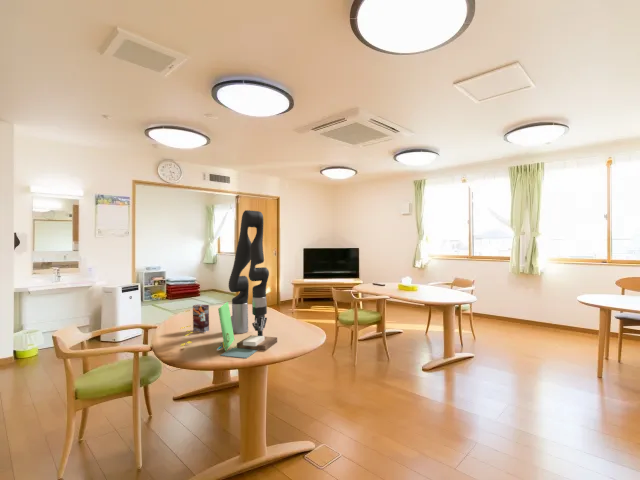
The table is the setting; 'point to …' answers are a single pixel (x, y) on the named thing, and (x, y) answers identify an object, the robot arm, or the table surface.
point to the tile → (253, 340)
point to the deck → (262, 346)
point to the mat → (239, 352)
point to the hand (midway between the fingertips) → (260, 337)
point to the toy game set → (225, 325)
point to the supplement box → (197, 324)
